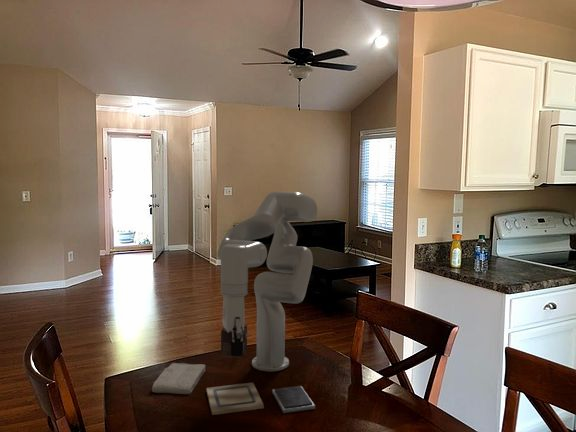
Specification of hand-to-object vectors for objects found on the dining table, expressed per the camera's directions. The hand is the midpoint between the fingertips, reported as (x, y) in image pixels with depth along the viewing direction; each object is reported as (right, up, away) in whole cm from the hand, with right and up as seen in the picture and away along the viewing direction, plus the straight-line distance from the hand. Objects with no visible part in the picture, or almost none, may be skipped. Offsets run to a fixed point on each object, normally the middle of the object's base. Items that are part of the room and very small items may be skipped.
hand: (234, 349), depth 127 cm
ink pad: (+17, -15, +1) cm, 22 cm away
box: (0, -1, 0) cm, 1 cm away
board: (0, -15, +1) cm, 15 cm away
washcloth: (-18, -14, +13) cm, 26 cm away
